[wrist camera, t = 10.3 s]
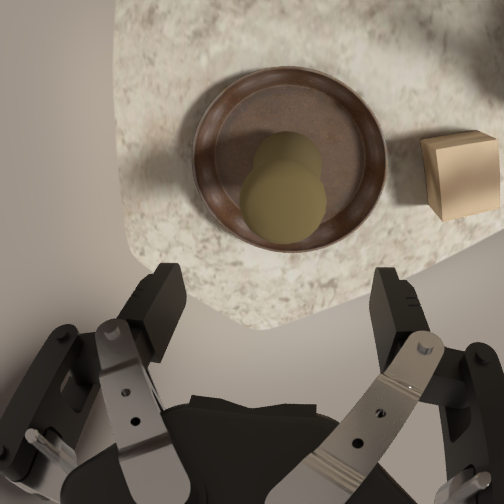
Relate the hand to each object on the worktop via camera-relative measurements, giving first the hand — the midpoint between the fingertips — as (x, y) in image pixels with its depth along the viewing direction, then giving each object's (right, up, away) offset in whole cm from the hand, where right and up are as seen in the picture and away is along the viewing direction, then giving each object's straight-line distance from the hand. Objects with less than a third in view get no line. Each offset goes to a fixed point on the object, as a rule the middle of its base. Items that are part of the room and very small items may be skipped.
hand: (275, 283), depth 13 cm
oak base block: (+19, +10, +14) cm, 26 cm away
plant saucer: (+3, +10, +17) cm, 20 cm away
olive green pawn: (+2, +9, +14) cm, 17 cm away
